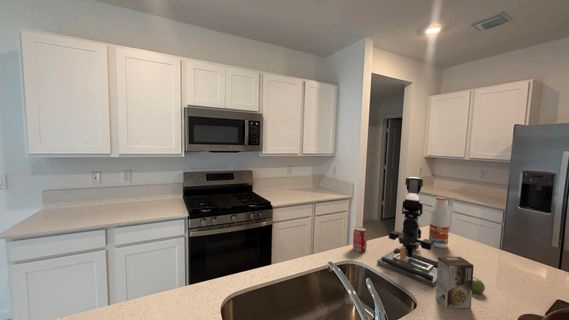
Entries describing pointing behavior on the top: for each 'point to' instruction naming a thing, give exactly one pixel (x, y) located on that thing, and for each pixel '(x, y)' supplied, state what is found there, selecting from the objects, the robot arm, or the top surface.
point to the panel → (413, 264)
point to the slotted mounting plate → (414, 258)
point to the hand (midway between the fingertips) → (410, 257)
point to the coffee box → (454, 282)
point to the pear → (477, 286)
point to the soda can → (359, 239)
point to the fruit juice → (439, 223)
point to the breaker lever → (403, 254)
